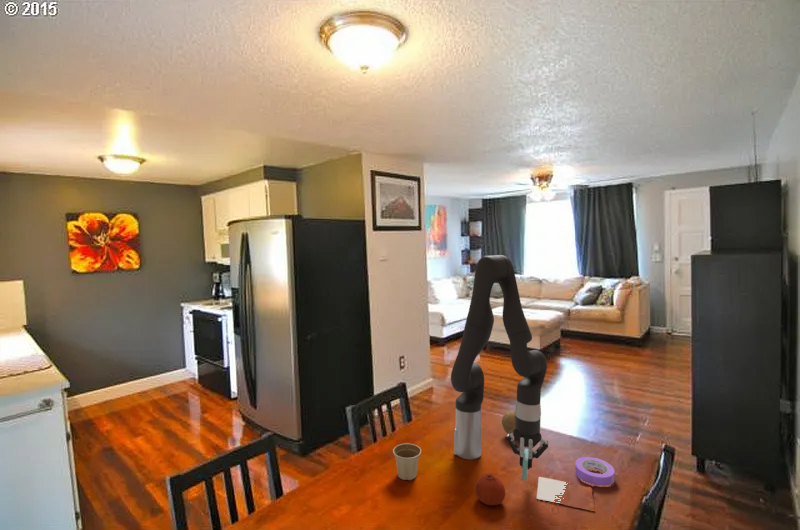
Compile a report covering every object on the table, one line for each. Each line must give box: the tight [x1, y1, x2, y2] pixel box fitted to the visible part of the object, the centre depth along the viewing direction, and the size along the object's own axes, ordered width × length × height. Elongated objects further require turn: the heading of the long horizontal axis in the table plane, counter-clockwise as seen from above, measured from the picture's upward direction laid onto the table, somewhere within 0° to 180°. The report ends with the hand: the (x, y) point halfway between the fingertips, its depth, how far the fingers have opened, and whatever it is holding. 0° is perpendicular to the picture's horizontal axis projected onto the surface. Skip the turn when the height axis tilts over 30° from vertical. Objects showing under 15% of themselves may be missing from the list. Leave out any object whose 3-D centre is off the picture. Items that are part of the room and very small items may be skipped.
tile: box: [521, 447, 529, 481], centre depth 128 cm, size 1×8×6 cm, turn 158°
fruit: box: [474, 473, 506, 506], centre depth 122 cm, size 9×9×8 cm
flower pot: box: [392, 442, 422, 481], centre depth 136 cm, size 9×9×9 cm
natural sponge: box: [501, 410, 515, 434], centre depth 162 cm, size 9×9×10 cm
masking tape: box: [574, 456, 616, 485], centre depth 134 cm, size 12×12×4 cm
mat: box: [536, 476, 568, 503], centre depth 126 cm, size 16×12×1 cm
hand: (525, 467), depth 128 cm, fingers closed on tile, 1 cm apart
